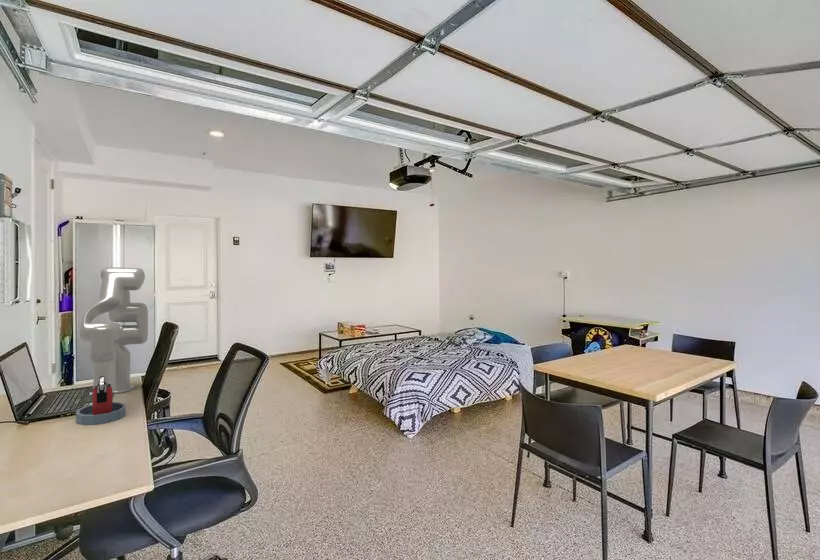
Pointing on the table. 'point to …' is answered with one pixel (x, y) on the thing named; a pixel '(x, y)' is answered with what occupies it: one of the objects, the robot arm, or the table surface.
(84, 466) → the table surface
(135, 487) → the table surface
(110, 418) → the bowl
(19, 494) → the table surface
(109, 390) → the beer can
